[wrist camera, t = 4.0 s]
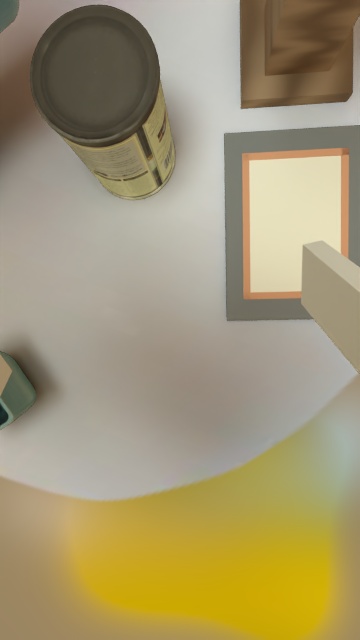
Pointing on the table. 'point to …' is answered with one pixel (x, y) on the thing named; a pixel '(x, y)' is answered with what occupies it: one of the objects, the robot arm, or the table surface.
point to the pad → (286, 213)
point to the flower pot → (15, 394)
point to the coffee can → (106, 98)
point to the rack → (296, 51)
